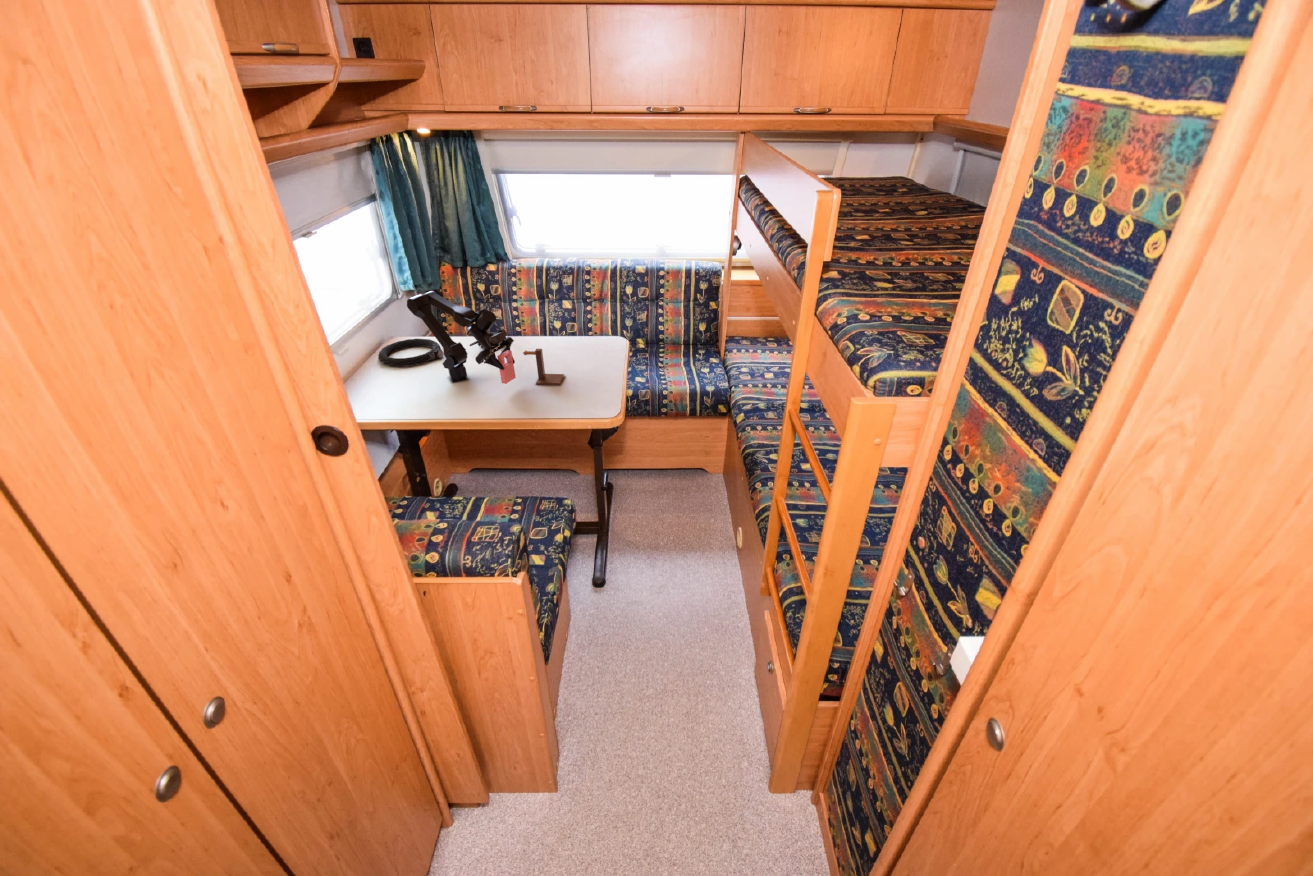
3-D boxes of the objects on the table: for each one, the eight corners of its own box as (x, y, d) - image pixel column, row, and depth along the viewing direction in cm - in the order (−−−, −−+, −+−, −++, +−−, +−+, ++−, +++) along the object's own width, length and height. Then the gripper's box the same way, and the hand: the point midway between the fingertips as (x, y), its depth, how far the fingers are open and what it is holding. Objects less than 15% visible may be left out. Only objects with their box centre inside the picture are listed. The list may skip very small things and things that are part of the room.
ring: (399, 335, 286) (455, 339, 281) (401, 342, 288) (456, 346, 283) (364, 357, 263) (424, 362, 258) (366, 365, 265) (426, 370, 260)
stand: (524, 384, 246) (519, 353, 239) (529, 375, 254) (525, 345, 247) (559, 385, 245) (556, 354, 238) (564, 376, 253) (560, 345, 246)
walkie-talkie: (503, 335, 289) (480, 347, 272) (497, 343, 292) (473, 355, 275) (495, 326, 288) (471, 337, 271) (488, 334, 291) (464, 345, 274)
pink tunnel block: (501, 383, 238) (497, 355, 231) (511, 376, 243) (507, 350, 236) (505, 384, 237) (501, 356, 231) (515, 377, 242) (511, 350, 236)
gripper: (476, 332, 222) (503, 364, 224) (506, 317, 236) (532, 347, 238) (463, 348, 229) (490, 379, 231) (494, 332, 243) (519, 361, 245)
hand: (509, 366), depth 236 cm, fingers closed on pink tunnel block, 6 cm apart
